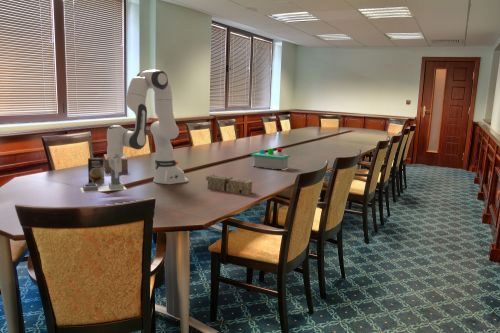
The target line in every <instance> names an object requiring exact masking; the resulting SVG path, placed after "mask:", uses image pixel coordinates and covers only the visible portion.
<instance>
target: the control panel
mask: <svg viewBox="0 0 500 333" xmlns="http://www.w3.org/2000/svg"><path fill="white" fill-rule="evenodd" d="M276 150H277V151H276V153H274V148H268V150H267V152H265V149H260V150H259V152H255V153H252V154H251V155H250V156H251V157H252V158H253V163H252V166H255V167H254V168H260V167H264V168H263V169H268V168H273V169H272V170H276V169H285V168H289V167H288V162H289V158H291V155H290V154H284V153H283V152H282V151H283V148H282V147H277V148H276Z"/></svg>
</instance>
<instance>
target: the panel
mask: <svg viewBox="0 0 500 333" xmlns="http://www.w3.org/2000/svg"><path fill="white" fill-rule="evenodd" d="M121 190H122V191H124V190H127V187H126V186H125V185H124V183H123V182H122V181H120V184H112V183H111V182H108V185H103V186H99V185H98V183H85V184H84V183H83V184H82V187H80V191H81V193H82V194H83V193H84V194H85V193H94V192H95V193H97V192H109V191H110V192H111V191H121Z"/></svg>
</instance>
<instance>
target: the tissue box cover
mask: <svg viewBox="0 0 500 333" xmlns="http://www.w3.org/2000/svg"><path fill="white" fill-rule="evenodd" d="M103 158H104V173H105V174H106V175H107V174H109V175H111V169H112V168H111V167H110V166H109V160H108V157H107V153H105V154H103ZM121 163H122V171H121V172H119V174H128V168H129V166H128V165H129V164H128V163H129V162H128V158H127V156H126V155H125V153H123V157H121Z"/></svg>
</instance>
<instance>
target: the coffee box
mask: <svg viewBox="0 0 500 333" xmlns="http://www.w3.org/2000/svg"><path fill="white" fill-rule="evenodd" d="M87 165H88V166H87V169H88V170H87V171H88V173H87V175H88V176H87V177H88V180H87V181H88V184H100V183H101V184H104V183H105V168H104V157H88V158H87Z"/></svg>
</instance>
